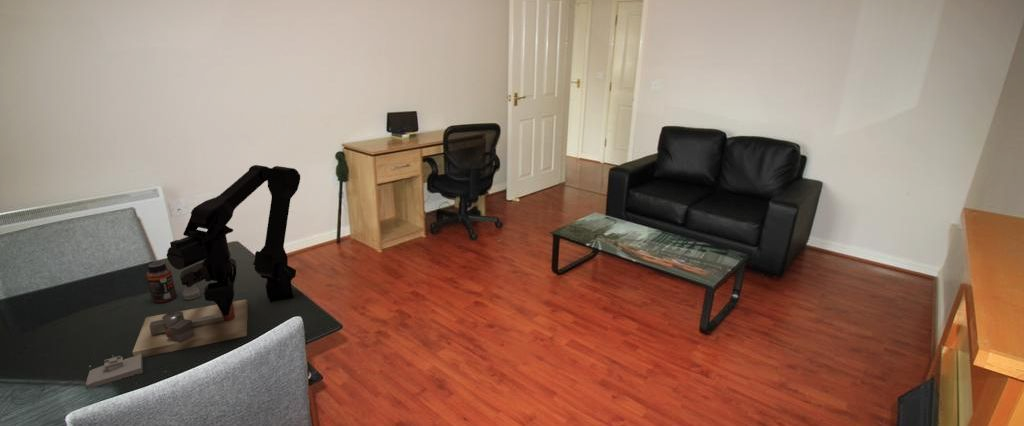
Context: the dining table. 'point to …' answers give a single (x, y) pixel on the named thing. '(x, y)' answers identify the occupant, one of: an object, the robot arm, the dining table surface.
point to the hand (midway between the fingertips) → (227, 306)
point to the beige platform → (115, 370)
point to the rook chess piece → (190, 292)
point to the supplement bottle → (160, 282)
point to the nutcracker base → (200, 331)
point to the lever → (177, 316)
